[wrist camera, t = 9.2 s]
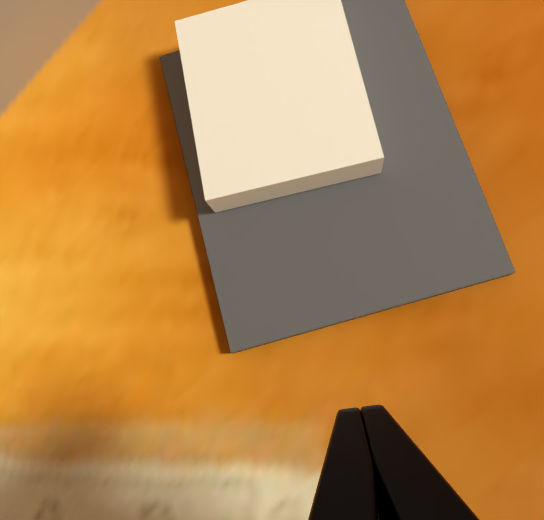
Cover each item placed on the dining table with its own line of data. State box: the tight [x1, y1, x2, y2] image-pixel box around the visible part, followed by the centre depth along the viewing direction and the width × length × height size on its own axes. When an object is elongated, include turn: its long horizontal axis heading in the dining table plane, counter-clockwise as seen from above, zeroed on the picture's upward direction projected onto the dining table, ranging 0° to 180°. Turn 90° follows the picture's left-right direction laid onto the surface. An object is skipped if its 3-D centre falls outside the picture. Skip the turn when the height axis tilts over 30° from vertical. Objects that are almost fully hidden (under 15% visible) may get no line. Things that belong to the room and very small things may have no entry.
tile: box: [175, 0, 384, 213], centre depth 21 cm, size 2×8×9 cm
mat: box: [160, 0, 515, 353], centre depth 22 cm, size 15×12×1 cm
